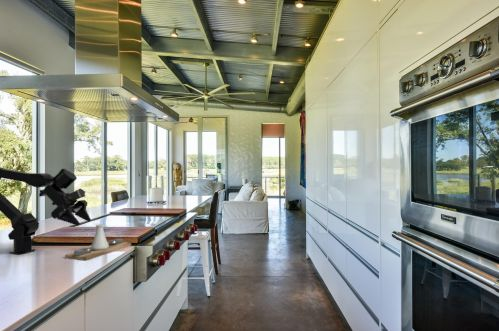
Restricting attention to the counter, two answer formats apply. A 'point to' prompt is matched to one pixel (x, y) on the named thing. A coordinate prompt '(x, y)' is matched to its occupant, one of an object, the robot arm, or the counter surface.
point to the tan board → (98, 252)
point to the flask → (99, 239)
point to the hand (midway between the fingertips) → (84, 222)
